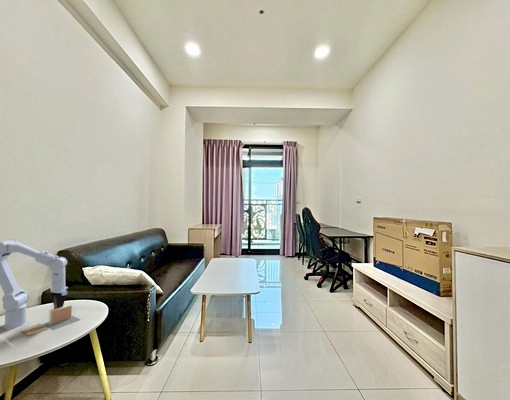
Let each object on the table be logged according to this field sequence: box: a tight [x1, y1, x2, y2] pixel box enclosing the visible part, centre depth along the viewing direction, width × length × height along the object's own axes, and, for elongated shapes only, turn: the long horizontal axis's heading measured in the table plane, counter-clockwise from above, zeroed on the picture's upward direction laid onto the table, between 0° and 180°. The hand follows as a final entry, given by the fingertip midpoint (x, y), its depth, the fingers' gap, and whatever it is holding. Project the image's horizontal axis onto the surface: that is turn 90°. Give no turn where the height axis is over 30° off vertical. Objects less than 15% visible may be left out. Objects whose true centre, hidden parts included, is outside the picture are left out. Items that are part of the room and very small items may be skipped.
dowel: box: [53, 297, 58, 309], centre depth 127 cm, size 4×4×7 cm
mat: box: [42, 314, 81, 331], centre depth 125 cm, size 12×12×1 cm
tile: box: [48, 303, 73, 325], centre depth 126 cm, size 2×9×7 cm, turn 150°
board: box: [21, 323, 48, 337], centre depth 117 cm, size 9×7×1 cm
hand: (58, 306), depth 127 cm, fingers open, 4 cm apart
